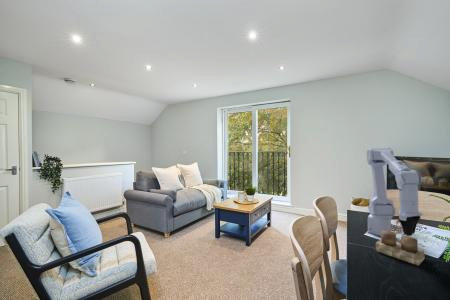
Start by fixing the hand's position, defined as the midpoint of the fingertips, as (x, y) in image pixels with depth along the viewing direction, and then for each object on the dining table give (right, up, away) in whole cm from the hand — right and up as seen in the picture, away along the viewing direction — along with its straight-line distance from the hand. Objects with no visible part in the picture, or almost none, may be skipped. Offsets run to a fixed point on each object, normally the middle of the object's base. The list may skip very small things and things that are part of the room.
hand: (409, 234), depth 83 cm
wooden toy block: (-1, -10, +3) cm, 11 cm away
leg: (0, -9, 0) cm, 9 cm away
